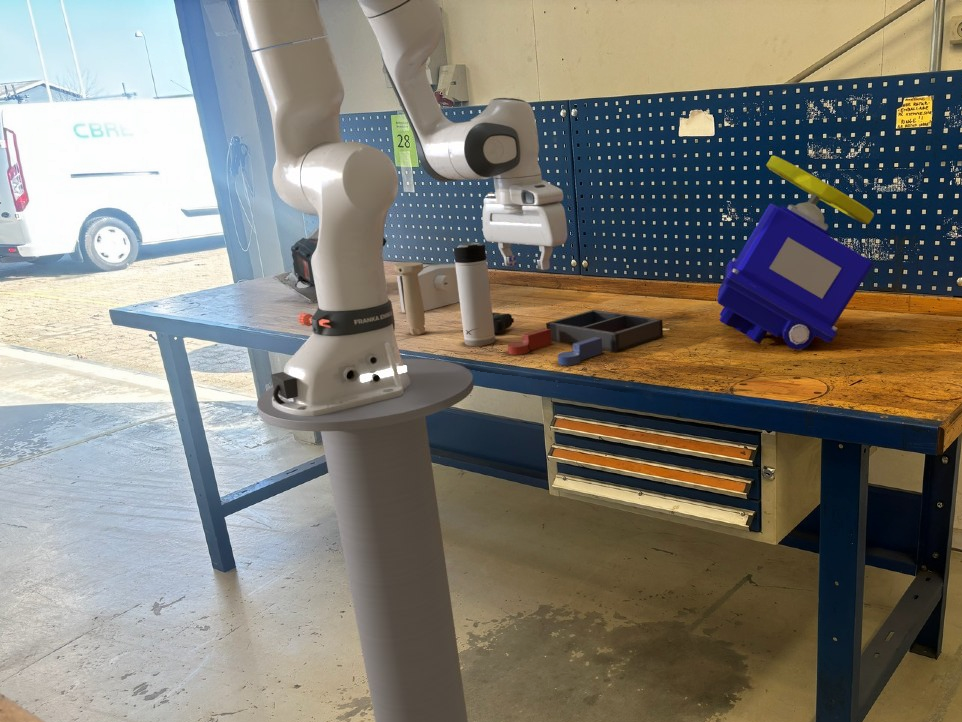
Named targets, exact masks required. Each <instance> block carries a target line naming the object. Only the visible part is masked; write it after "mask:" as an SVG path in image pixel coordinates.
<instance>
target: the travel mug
mask: <svg viewBox="0 0 962 722" xmlns="http://www.w3.org/2000/svg"><path fill="white" fill-rule="evenodd" d="M486 251H487V250H486V244H482V245H478V246H477V244H475V245H468V247H460V248H457V247H454V248H453V253H454V257H455V258H454V264H456V274H457V283H458V291H459V300H460V302H459V307H460V316H461V325H462V331H463V332H462V334H463V340H464V344H465V345H466V346H469V347H483V346H488V345H492V344H494V343H495V342H496V333H494V323H493V314H492V313H493V305H492V296H491V286H490V277H489V267H488V263H487V262H488V259H487V255H486V254H487V252H486Z"/></svg>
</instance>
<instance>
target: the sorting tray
mask: <svg viewBox="0 0 962 722" xmlns="http://www.w3.org/2000/svg"><path fill="white" fill-rule="evenodd" d="M545 325H546V326H545V327H546V328H545V329H550V330H551V342H559V343H564V344H570V345H573V344H574V343H577V342H580V341H584V340H587V339H590V338H593V337H598V338H602V351H608V352H614V353H618V352H621V351H624V350H627V349H630V348H632V347H636V346H639V345H642V344H645V343H648V342H651V341H654V340H656V339H659V338H663V337H664V329H663V325H664V324H663V319H662V318H654V317H647V316H640V315H633V314H628V313H627V314H626V313H620V312H611V311H605V310H600V309H599V310H598V309H597V310H596V309H592V310H588V311H584V312H581V313H576V314H573V315H570V316H569V315H568V316H566V317H563V318H559V319H556V320H551V321H548V322H546V323H545Z"/></svg>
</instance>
